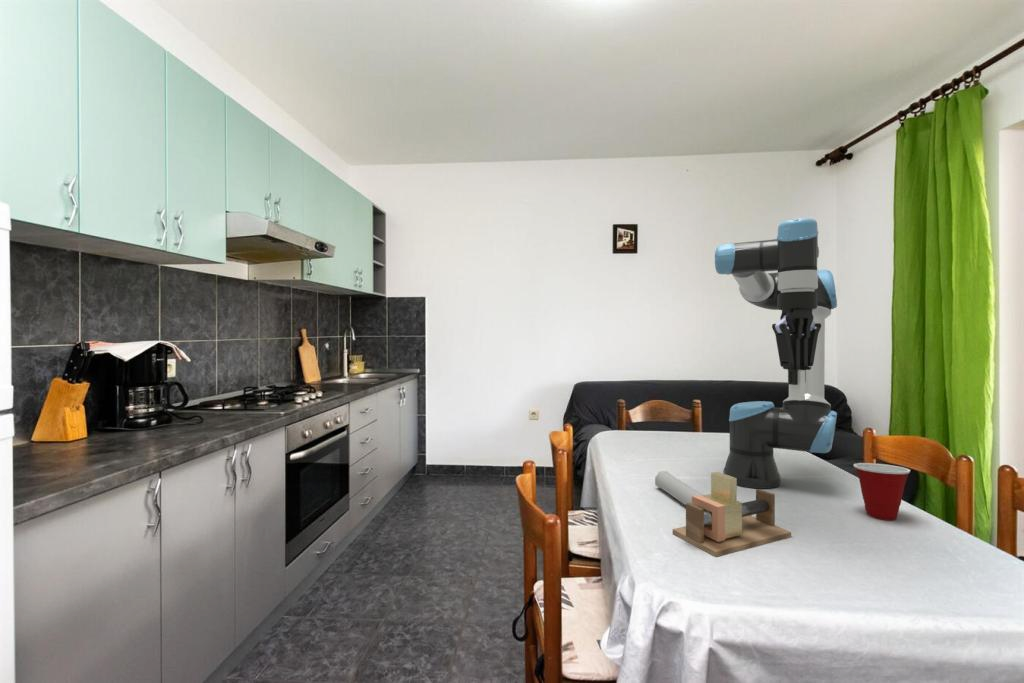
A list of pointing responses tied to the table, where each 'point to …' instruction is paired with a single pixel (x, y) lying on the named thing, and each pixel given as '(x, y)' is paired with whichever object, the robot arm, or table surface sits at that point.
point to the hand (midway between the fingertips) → (796, 399)
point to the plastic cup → (881, 488)
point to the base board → (752, 535)
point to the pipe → (743, 510)
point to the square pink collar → (718, 517)
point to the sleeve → (727, 502)
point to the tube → (675, 487)
